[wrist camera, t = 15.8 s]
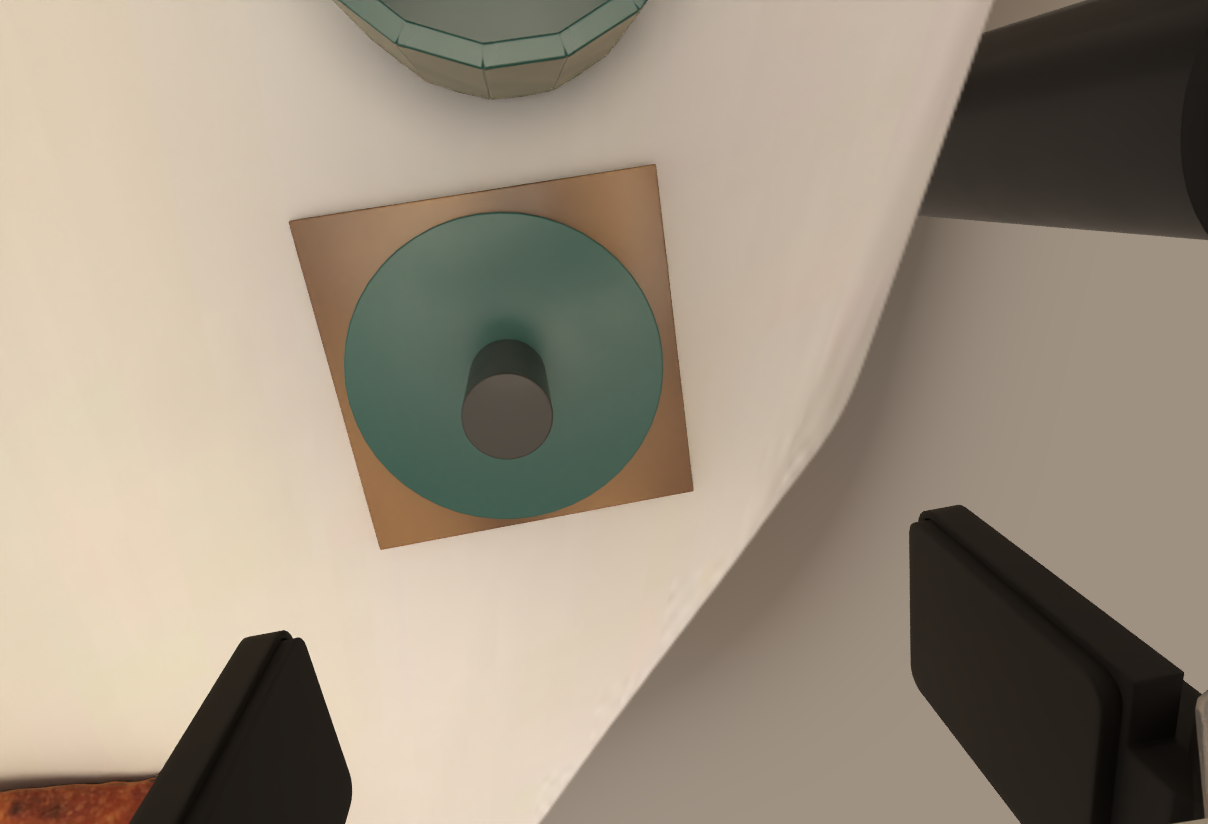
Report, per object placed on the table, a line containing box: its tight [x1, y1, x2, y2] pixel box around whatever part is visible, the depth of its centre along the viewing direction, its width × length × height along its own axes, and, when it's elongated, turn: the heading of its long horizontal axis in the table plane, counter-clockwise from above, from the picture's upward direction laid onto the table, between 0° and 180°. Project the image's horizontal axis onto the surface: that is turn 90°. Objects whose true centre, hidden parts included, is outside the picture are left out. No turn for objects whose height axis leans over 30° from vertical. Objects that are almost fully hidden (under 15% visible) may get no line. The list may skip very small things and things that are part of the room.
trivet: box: [289, 164, 693, 550], centre depth 32 cm, size 15×15×1 cm
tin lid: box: [344, 211, 663, 519], centre depth 28 cm, size 13×13×7 cm
